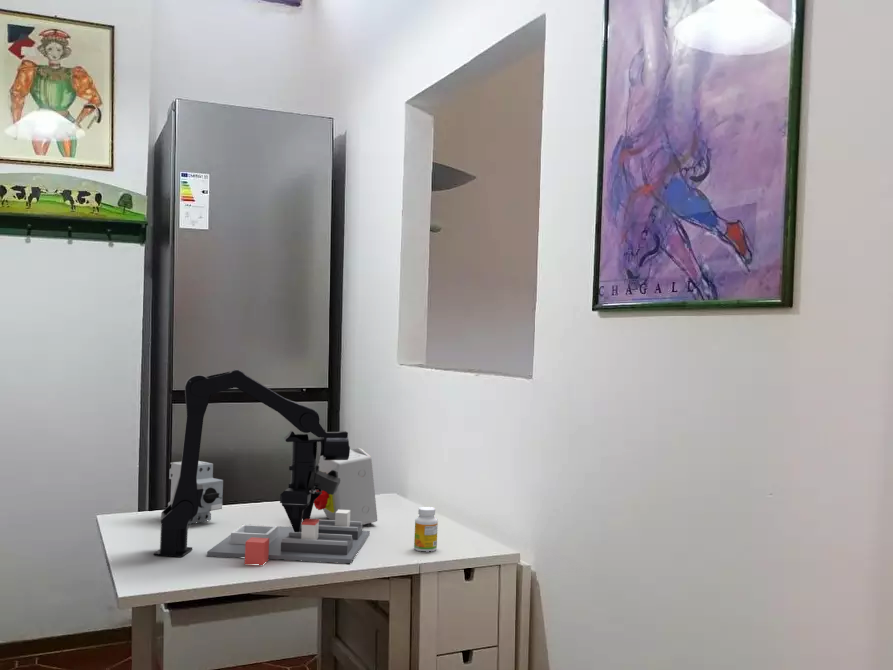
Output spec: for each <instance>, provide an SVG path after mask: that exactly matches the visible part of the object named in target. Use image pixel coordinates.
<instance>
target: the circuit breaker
mask: <svg viewBox="0 0 893 670" xmlns="http://www.w3.org/2000/svg"><path fill="white" fill-rule="evenodd" d="M170 465H171V466H170V468H169V472H168V473H169V477H168V479H169V480H170V501H169V502H168V503H167V507H168V506H169V505H170V504H171V502H172V498H173V494H174V491H175V488H176V485H177V482H178V479H179V476H180V470H181V461H173V462H170ZM213 473H214V463H212V462H207V461H202V460H201V461H200V460H198V469H197V485H203V494H202V497H201V504H202V508H200V507H199V506H198V512H197V514H196V516H194V517H193V518H192V519H190V520H189V522H188V524H190V525H192V524H191V523H195V524H197V523H196V522H201V523H203V522H202V521H206V522H208V521H207V520H211V521H212V513H211V512H212V511H217V510H218V511H219V510H223V494H224V493H223V492H224V491H223V490H224V479H220V478H217V477H216V478H214V474H213Z"/></svg>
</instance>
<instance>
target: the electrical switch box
mask: <svg viewBox="0 0 893 670" xmlns="http://www.w3.org/2000/svg"><path fill="white" fill-rule="evenodd" d="M318 466H319V471H321V472H326V473H327V474H328V473H329V472H330V471H331V470H335V471H337V472H338V478H340V480H341V481H340V484H339V486H338V488H337V491H336V493H334V494H333V495H331V494H328V493H327V492H325V491H322V494H321V495H319V496H318V497H317V498H316V499H315V501H314V505H313V506H314V507H315V509H316V510H318V511H321V510H323V512H324V514H325V516H326V518H327V519H328V520H335V513H336V512H337V511H338V509H339V510H350V521H356V522H362V525H363V526H364V525H368V524H372V523H376V522H378V511H377V501H376V493H375V490H376V489H375V482H374V481H375V480H374V473H373V472H374V471H373V462H372V456H371V455H370V454H369V453H367V452H366V451H365V450H363V449H362V448H361V447H357V448H350V454H349V458H348V460H323V456H319V461H318ZM316 492H319V490H316Z"/></svg>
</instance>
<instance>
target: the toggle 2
mask: <svg viewBox="0 0 893 670" xmlns="http://www.w3.org/2000/svg"><path fill="white" fill-rule="evenodd" d="M335 526H344V527H349V526H350V510H339V509H338V511H337V512H336V513H335Z"/></svg>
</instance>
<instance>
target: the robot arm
mask: <svg viewBox="0 0 893 670" xmlns="http://www.w3.org/2000/svg"><path fill="white" fill-rule="evenodd" d="M184 384H185V385H184V394H185V395H184V397H185V407H186V419H185V426H184V427H185V429H184V435H183V437H184V438H183V443H182V444H183V445H182V456H181V461H180V462H181V470H180V476H179V479H178V482H177V485H176V488H175V491H174V494H173V498H172V502H171V504H170V505H169V506H168V505H167V507H165V509H164V510H162V512H161V513H160V523H161V525H160V539H159V540H160V541H159V543H160V544H159V549H158V550H157V551H154V552H153V555H154V556H161V557H176V558H177V557H179V558H181V557H184V556H186V555H187V554H188V553H190V552H191V551H192V550H193V547H191V546H189V547H188V533H189V525H188V522H189V520H190V519H192V518H193V517H194V516H196V514H197V512H198V506H199V507H200V508H202V504H201V497H202V494H203V485H197V469H198V461H200V450H201V442H202V435H203V433H202V432H203V427H204V426H203V424H204V418H205V417H204V416H205V414H206V411H207V408H208V405H209V402H210V399H211V395H213V394H216V393H221V392H224V391H229V390H231V389H235V388H236V389H238V390H240V391H242V392H243V393H245V394H246V395H248V396H250V397H252V398H253V399H255V400H256V401H259V402H260V403H262V404H264V405H265V406H267V407H269V408H270V409H271V410H274V411H275V412H277V413H278V414H279V415H281V416H282V417H283V418H284V419H285V420H286V421H288V422H289V423H290V424H291V425H292V426H293V427H295V429H297V430H298V431H300V432H301V433H295V432H294V431H293V430H290V431H289V433H288V434H287V435H286V436H284V437H283V440H284V441H285V442H287V443H292V445H291V446H292V447H291V464H290V465H289V466H288V471H291V472H290V475H291V476H290V482H289V483H288V488H286V489H285V490H283V492H281V494H280V495H279V503H280V504H281V506H282V507H283V509H284V511H285V513H286V515H287V517H288V519H289V522H290V524H291V527H293V530H294V532H299V531H300V527H301V523H302V522H303V521H304V520H305V519H311V515H312V512H313V508H314V506H315V505H314V501H315V499H316V498H317V497H318V496H319V495H321V494H322V491H325V492H327V493H328V494H331V495H333V494H334V493H336V491H337V488H338V486H339V484H340V481H341V480H340V478H338V472H337V471H335V470H331V471H330V472H329V473H328V474H327V473H326V472H321V471H319V466H318V465H319V463H317V454H318V456H319V457H320V456H323V460H348V458H349V454H350V449H351V446H350V443H349V441H350V440H349V436H348V435H349V432H348V431H346V430H340V431H326V430H325V428H323V427H322V425H321V424H320V420H321V419H320V415H319V413H318V412H317V411H316V410H315V409H313V408H311V407H310V406H307V405H304V404H301V403H299V402H297V401H294V400H291V399H288V398H285V397H284V396H282V395H281V394H279V393H277V392H275V391H273V390H272V389H270V388H268V387H266V385H264V384H262V383H260V382H258V381H257V380H255V379H253V378H252V377H250V376H248V375H247V374H245V372H243V371H242V370H240V369H233V370H230V371H226V372H222V373H217V374H211V375H208V376H205V375H204V374H199V373H197V374H194V375H191V376H190V377H188V378H187V379H186V381H185V383H184ZM309 433H310V434H313V435H314V436H315V437H309ZM317 452H318V453H317ZM317 490H319V492H316V491H317Z"/></svg>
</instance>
